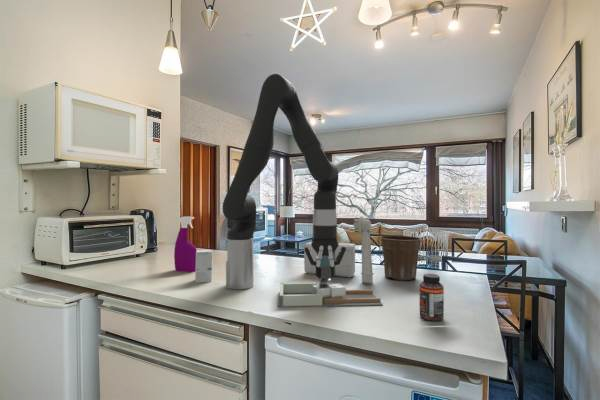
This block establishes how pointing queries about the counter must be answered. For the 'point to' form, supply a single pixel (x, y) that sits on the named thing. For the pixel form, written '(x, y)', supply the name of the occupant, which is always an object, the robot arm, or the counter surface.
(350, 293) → the slot board
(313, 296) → the tray
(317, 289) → the white cube
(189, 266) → the spray bottle
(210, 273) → the skincare box
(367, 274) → the white hammer
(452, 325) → the counter surface
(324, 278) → the scraper
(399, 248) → the plant pot
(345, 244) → the white striped box
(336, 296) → the white small cube
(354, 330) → the counter surface
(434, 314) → the supplement bottle
